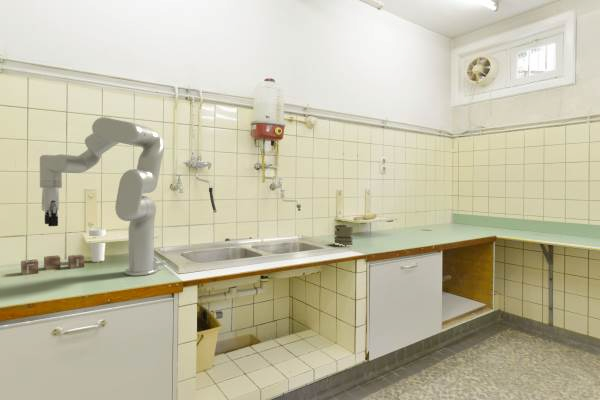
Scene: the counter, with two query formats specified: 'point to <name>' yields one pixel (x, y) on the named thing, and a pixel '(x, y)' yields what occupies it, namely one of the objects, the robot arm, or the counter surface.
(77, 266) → the block one
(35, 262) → the block seven
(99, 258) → the white cup
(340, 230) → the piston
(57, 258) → the plain block
